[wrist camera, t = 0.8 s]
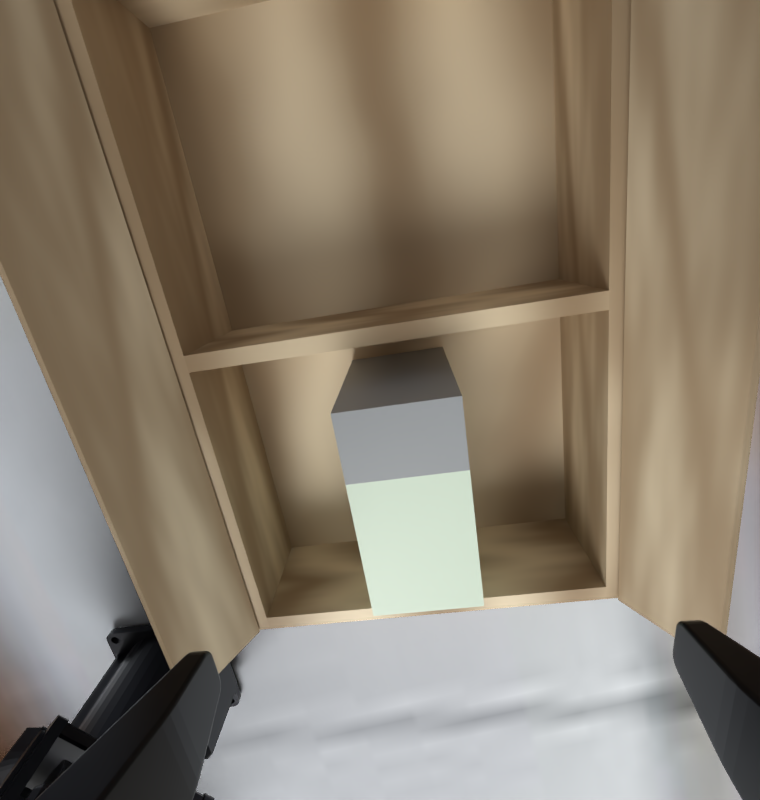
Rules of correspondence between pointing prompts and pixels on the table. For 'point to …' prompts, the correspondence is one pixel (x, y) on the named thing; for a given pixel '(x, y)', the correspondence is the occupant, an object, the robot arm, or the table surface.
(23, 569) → the table surface
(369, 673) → the table surface
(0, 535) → the table surface
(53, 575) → the table surface
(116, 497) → the wooden cubby shelf
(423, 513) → the box
